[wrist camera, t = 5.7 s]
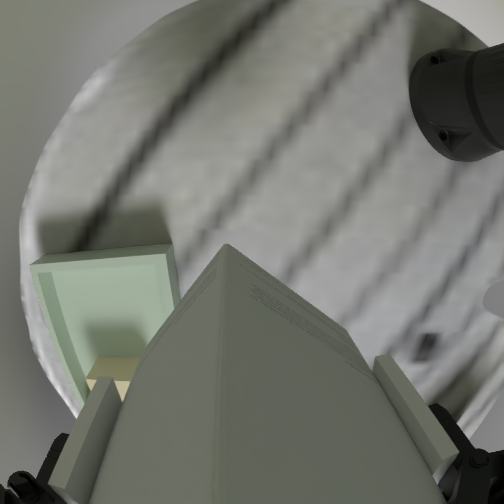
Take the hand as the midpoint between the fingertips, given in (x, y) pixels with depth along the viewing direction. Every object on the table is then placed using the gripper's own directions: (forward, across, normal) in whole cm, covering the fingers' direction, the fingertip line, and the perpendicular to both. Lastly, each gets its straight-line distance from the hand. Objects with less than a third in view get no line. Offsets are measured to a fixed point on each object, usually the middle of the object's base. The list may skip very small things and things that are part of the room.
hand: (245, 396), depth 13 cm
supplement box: (+4, 0, 0) cm, 4 cm away
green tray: (+22, -15, -9) cm, 28 cm away
